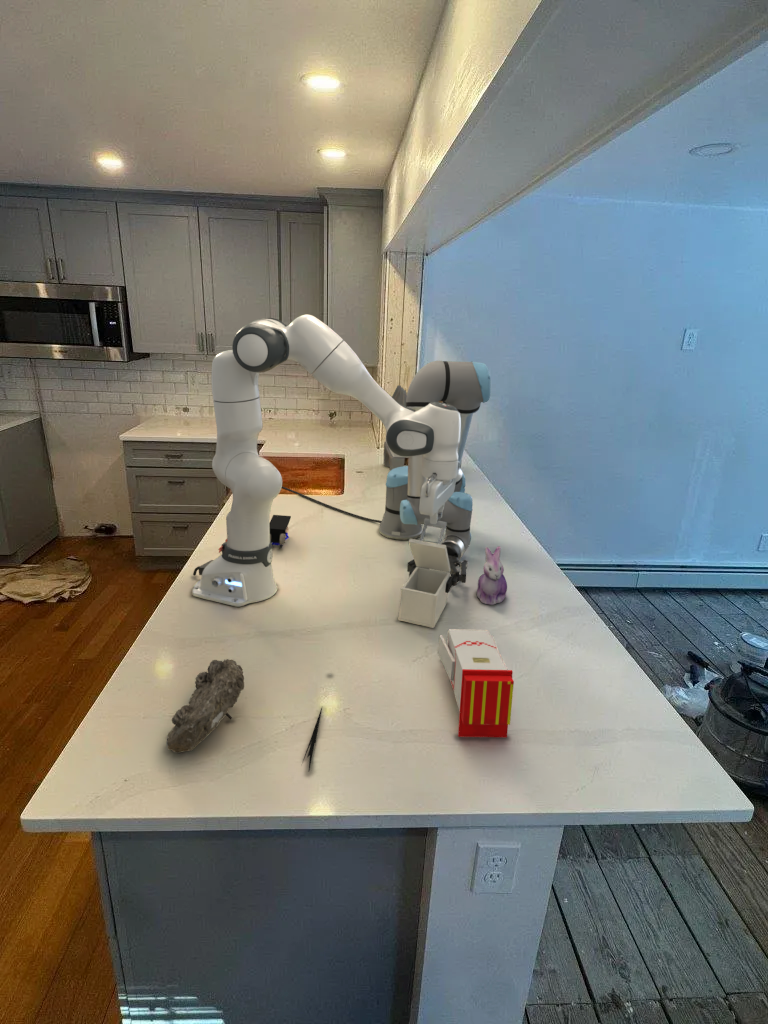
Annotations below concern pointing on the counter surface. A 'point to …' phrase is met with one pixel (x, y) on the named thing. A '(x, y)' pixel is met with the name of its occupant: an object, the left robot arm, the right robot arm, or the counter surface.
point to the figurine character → (279, 530)
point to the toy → (478, 682)
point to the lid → (430, 550)
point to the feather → (313, 740)
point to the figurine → (492, 579)
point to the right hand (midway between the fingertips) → (428, 584)
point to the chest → (423, 597)
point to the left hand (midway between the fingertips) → (435, 520)
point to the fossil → (206, 705)
